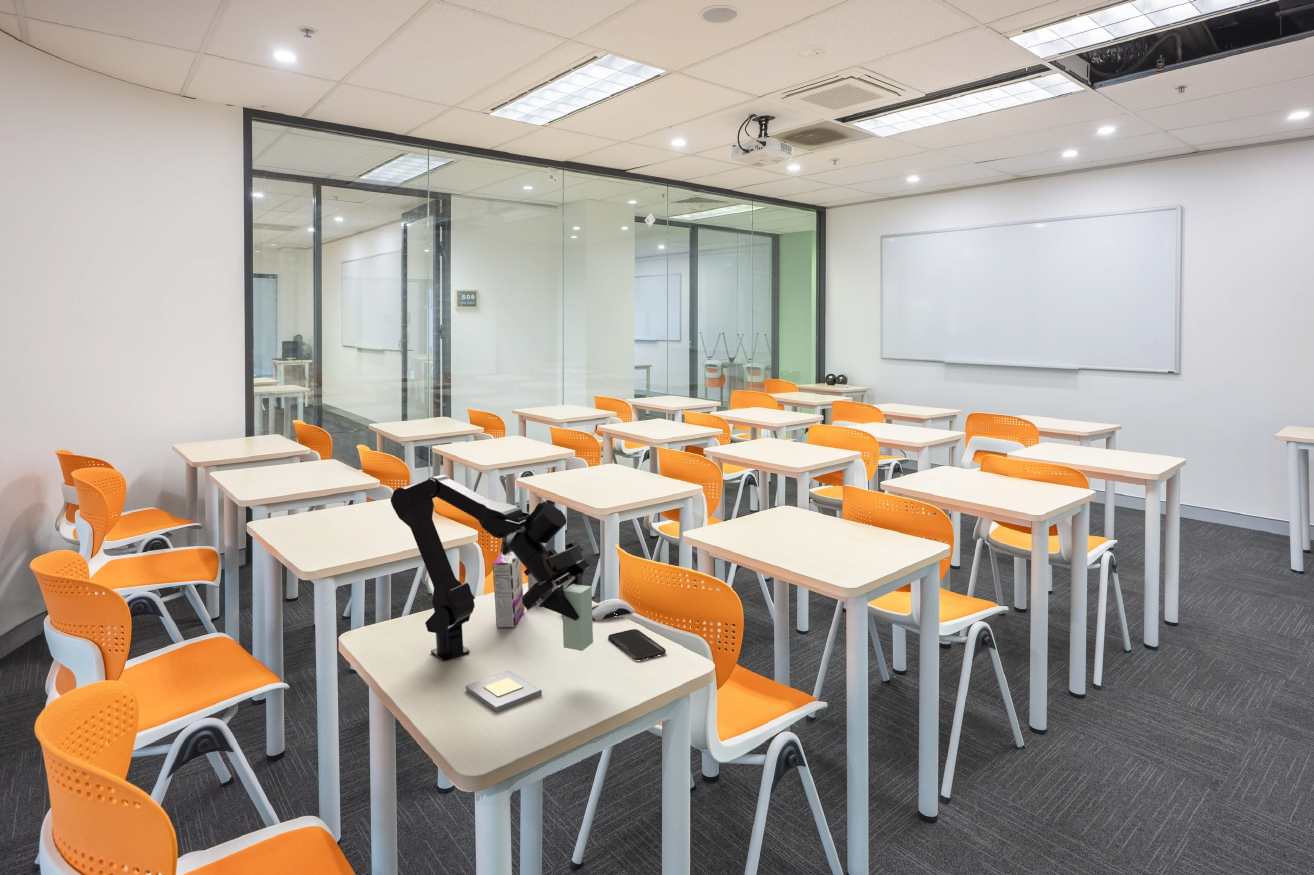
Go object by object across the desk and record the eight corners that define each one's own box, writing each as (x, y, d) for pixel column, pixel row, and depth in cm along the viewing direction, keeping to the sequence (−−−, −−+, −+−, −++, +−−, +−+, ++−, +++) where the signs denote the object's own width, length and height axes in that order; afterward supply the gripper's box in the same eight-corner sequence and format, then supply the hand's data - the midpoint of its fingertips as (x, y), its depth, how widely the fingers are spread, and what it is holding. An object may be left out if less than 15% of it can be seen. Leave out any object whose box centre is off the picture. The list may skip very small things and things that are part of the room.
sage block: (563, 647, 148) (561, 590, 147) (574, 639, 152) (572, 583, 151) (582, 650, 146) (580, 593, 145) (593, 642, 150) (591, 586, 149)
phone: (636, 628, 173) (667, 650, 160) (636, 633, 173) (667, 655, 160) (606, 635, 169) (635, 658, 156) (606, 640, 170) (636, 663, 157)
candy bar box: (505, 611, 188) (502, 549, 186) (524, 611, 188) (521, 549, 186) (494, 628, 177) (491, 563, 175) (515, 628, 177) (512, 562, 175)
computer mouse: (640, 617, 183) (640, 602, 183) (570, 629, 176) (569, 613, 176) (626, 605, 192) (626, 590, 192) (559, 615, 185) (558, 600, 185)
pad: (465, 690, 145) (465, 684, 145) (510, 674, 152) (509, 669, 152) (496, 712, 136) (496, 706, 136) (541, 694, 143) (541, 688, 143)
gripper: (532, 544, 139) (584, 607, 136) (580, 521, 156) (628, 577, 153) (500, 579, 143) (550, 641, 140) (550, 553, 160) (595, 608, 157)
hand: (583, 615), depth 148 cm, fingers closed on sage block, 4 cm apart
